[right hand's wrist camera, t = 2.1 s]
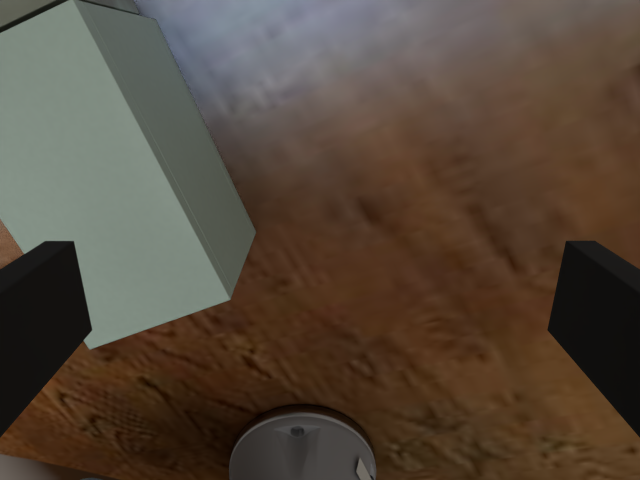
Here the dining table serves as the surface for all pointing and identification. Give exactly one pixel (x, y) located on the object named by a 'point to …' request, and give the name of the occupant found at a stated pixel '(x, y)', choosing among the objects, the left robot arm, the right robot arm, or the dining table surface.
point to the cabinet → (116, 168)
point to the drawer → (25, 3)
